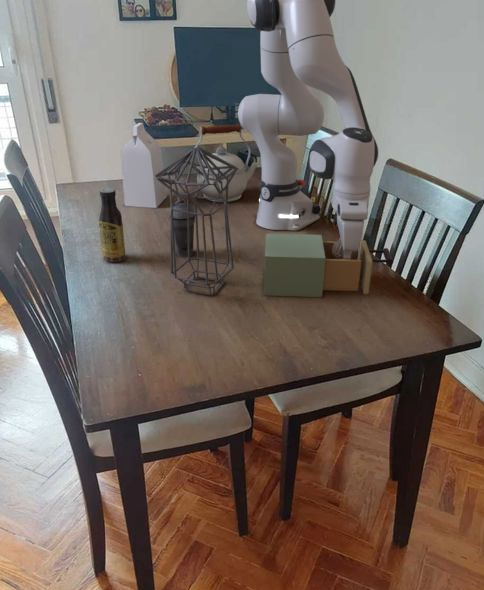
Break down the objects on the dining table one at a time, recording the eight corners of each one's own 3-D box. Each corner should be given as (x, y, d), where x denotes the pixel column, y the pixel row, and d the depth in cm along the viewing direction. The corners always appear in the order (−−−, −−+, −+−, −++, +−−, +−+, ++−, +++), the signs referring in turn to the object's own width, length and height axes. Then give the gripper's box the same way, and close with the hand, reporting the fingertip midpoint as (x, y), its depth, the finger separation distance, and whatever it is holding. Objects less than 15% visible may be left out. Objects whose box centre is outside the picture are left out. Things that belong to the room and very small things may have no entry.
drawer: (382, 271, 151) (387, 240, 146) (391, 294, 140) (396, 262, 135) (312, 269, 151) (314, 238, 146) (314, 292, 140) (317, 260, 135)
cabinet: (318, 271, 152) (321, 234, 146) (322, 297, 140) (325, 257, 134) (265, 270, 152) (266, 233, 146) (264, 295, 140) (264, 256, 134)
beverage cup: (193, 260, 157) (188, 190, 145) (168, 257, 158) (162, 188, 147) (200, 250, 162) (197, 182, 151) (177, 247, 164) (172, 180, 153)
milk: (136, 195, 203) (127, 120, 188) (166, 197, 202) (160, 122, 187) (124, 205, 193) (114, 127, 178) (156, 208, 192) (149, 129, 177)
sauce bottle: (99, 261, 154) (87, 191, 143) (111, 252, 159) (101, 184, 148) (119, 265, 153) (109, 194, 142) (131, 256, 158) (122, 187, 147)
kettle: (202, 207, 193) (198, 133, 179) (187, 192, 207) (182, 121, 193) (267, 199, 201) (268, 128, 188) (248, 185, 215) (248, 117, 202)
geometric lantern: (218, 306, 135) (213, 160, 115) (161, 294, 139) (147, 151, 120) (242, 279, 147) (242, 143, 128) (190, 269, 151) (181, 136, 132)
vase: (362, 267, 143) (366, 235, 138) (344, 274, 139) (347, 242, 134) (342, 258, 147) (345, 227, 142) (324, 265, 143) (327, 233, 138)
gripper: (334, 186, 142) (329, 237, 150) (341, 214, 125) (335, 270, 133) (358, 187, 142) (352, 238, 149) (369, 215, 125) (361, 270, 132)
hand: (344, 253), depth 141 cm, fingers closed on vase, 7 cm apart
